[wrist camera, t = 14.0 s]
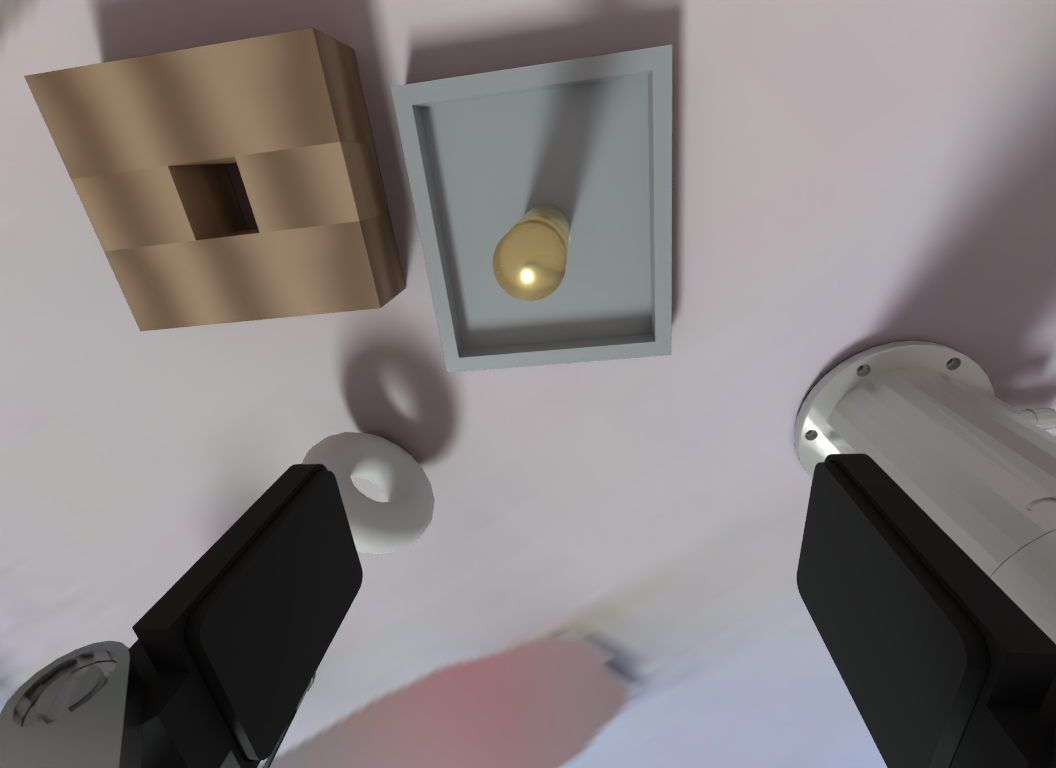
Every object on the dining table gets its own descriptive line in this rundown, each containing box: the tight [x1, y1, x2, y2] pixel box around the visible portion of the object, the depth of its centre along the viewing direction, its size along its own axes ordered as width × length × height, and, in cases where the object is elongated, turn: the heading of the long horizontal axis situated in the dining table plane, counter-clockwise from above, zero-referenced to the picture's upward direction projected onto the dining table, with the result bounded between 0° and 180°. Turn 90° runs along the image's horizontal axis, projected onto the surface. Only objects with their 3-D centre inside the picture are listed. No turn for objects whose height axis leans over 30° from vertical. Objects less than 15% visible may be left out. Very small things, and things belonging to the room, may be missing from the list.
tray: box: [391, 44, 672, 373], centre depth 31 cm, size 15×17×2 cm
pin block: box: [24, 28, 405, 331], centre depth 30 cm, size 16×14×5 cm
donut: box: [302, 432, 434, 554], centre depth 35 cm, size 10×4×10 cm, turn 54°
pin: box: [493, 204, 569, 301], centre depth 25 cm, size 3×3×12 cm
